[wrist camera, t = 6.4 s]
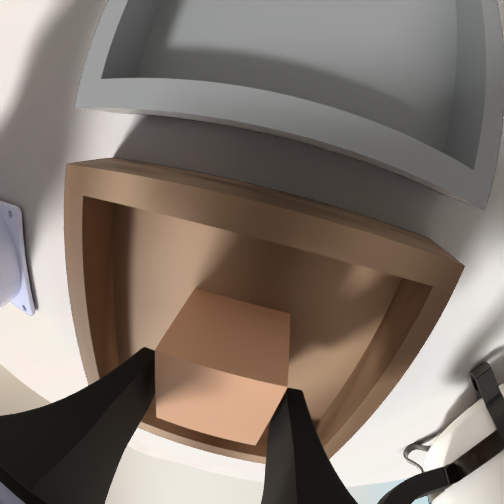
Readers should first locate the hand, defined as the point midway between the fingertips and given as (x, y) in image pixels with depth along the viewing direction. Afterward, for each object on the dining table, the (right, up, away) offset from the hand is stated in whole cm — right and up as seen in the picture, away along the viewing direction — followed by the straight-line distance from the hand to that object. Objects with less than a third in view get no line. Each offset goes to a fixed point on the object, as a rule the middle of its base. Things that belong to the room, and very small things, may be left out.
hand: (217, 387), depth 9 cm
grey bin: (+4, +16, -3) cm, 16 cm away
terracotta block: (0, +1, +2) cm, 3 cm away
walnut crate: (0, +1, +3) cm, 3 cm away
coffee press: (+19, -8, +4) cm, 21 cm away
